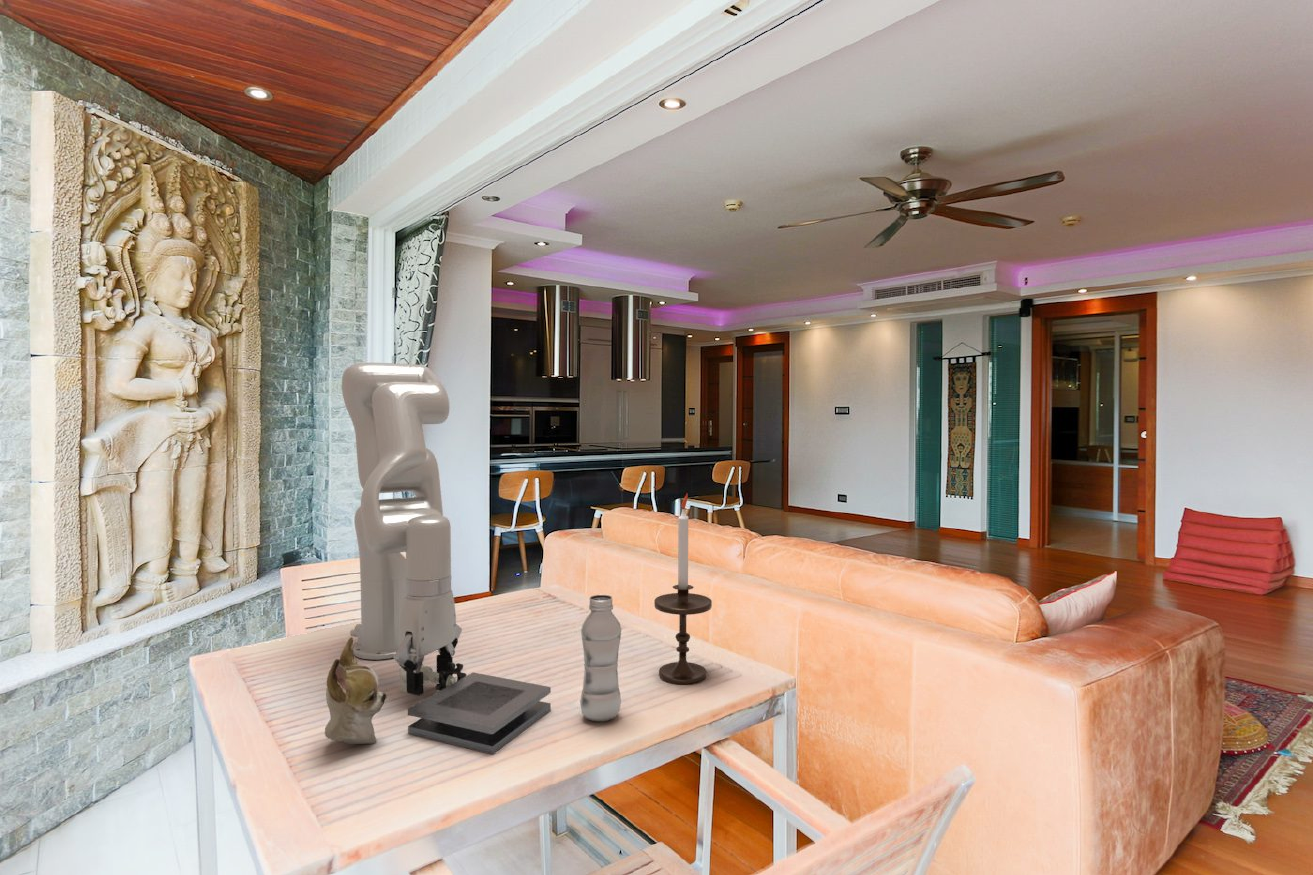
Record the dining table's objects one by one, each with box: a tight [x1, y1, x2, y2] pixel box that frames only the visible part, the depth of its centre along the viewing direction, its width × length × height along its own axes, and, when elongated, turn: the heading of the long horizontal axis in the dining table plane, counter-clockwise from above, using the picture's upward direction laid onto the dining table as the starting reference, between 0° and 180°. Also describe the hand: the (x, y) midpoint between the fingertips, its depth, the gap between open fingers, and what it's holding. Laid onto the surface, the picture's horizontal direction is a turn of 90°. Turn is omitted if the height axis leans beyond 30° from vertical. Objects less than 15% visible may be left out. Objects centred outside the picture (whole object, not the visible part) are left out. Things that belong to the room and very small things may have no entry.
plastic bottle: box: [579, 594, 622, 722], centre depth 113 cm, size 6×7×20 cm
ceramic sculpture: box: [324, 636, 387, 745], centre depth 104 cm, size 11×9×15 cm
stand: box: [407, 671, 552, 755], centre depth 112 cm, size 16×16×4 cm
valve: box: [399, 650, 467, 694], centre depth 123 cm, size 7×7×12 cm
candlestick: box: [653, 493, 713, 686], centre depth 130 cm, size 11×11×35 cm
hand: (430, 684), depth 122 cm, fingers open, 6 cm apart
